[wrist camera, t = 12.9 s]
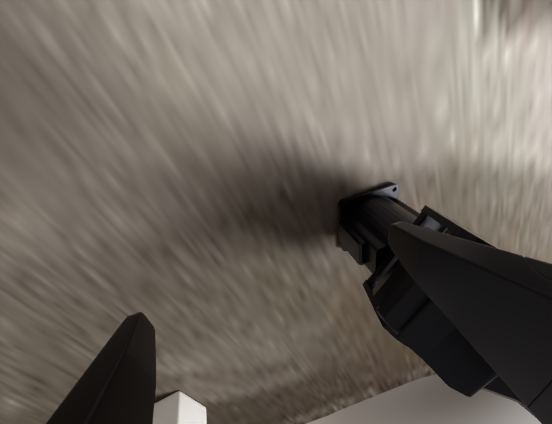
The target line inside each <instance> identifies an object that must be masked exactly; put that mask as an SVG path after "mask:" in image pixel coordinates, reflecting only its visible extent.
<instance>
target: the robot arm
mask: <svg viewBox="0 0 552 424" xmlns="http://www.w3.org/2000/svg"><path fill="white" fill-rule="evenodd" d="M393 188H394V189H393ZM392 189H393V190H392ZM398 192H399V186H398V185H396V184H394V183H392V184H389V185H386V186H383V187H380V188H377V189H374V190H370V191H367V192H364V193H361V194H358V195H355V196H352V197H349V198H346V199H343V200H341V201H340V202H339V204H338V208H339V221H338V236H339V241H340V243H341V248H342V250H343V251H348V252H349V253H350V255H351V256H352V257H353V258H354V259H355V261H356V262H357V263H358V264H359V265H364V264H365V266H366V267H367V268H368V269H369V270H370V271H371V273H372V275H371V276H370V277H369V278H368V280H365V282H364V283H363V286H364V289H365V291H366V293H367V295H368V297H369V299H370V301H371V304H372V306H373V308H374V310H375V312H376V314H377V316H378V318H379V320H380V322H381V324H382V326H383V327H384V329H386V330H387V331H388V332H389V333H390V334H391V335H392V336H393V337H394V338H396V339H397V340H398V341H399V342H401V343H402V344H404V345H406V346H408V347H409V348H410V349H412V350H413V351H414V352H415V353H416V354H417V355H418V356H420V357H421V358H422V359H423V360H424V361H425V362H426V363H427V364H428V365H429V366H430V367H431V368H432V369H433V370H434V371H435V372H436V374H437V375H438V376H439V377H440V378H441V379H442V380H443V381H444V382H445V383H446V384H447V385H448V386H449V387H451V388H453V389H455V390H457V391H458V392H460V393H462V394H464V395H466V396H469V397H472V396H473V395H475V394H476V393H477V392H478V391H480V390H481V389H483V390H486V391H489V392H491V393H494V394H497V395H500V396H502V397H505V398H508V399H511V400H513V401H516V402H518V403H519V404H520V405H521V406H523V407H524V408H525V409H527V410H528V411H529V412H530V413H531V414H532V415H534V416H535V417H536V418H537V419H538V420H539V421H540V422H541V423H542V424H552V264H550V263H547V262H543V261H539V260H536V259H532V258H529V257H523V256H522V255H518V254H515V253H511V252H508V251H504V250H502V249H500V248H498V247H497V246H495V245H494V244H492V243H491V242H489V241H487V240H486V239H484V238H483V237H481V236H479V235H478V234H476V233H474V232H472V231H471V230H469V229H467V228H466V227H464V226H462V225H460V224H459V223H457V222H455V221H453V220H452V219H450V218H448V217H446V216H444V215H442V214H441V213H439V212H437V211H435V210H433V209H431V208H429V207H428V206H426V205H425V206H424V208H423V209H422V210H421V211H422V212H421V213H418V212H417V211H415V210H413V209H412V208H410V207H409V206H407V205H406V204H404V203H403V202H401V201H399V200H398ZM343 204H345V205H344V206H343ZM155 390H156V348H155V329H154V327H153V325H152V324H151V323H150V321H149V320H148V319H147V317H146V316H145V315H144V314H143V313H142V312H138V313H135V314H133V315H130V316H128V317H126V319H125V320H124V321H123V322H122V324H121V325H120V326H119V328H118V329H117V330H116V332H115V333H114V334H113V336H112V337H111V338H110V340H109V341H108V342H107V344H106V345H105V346H104V347H103V349H102V350H101V351H100V353H99V354H98V355H97V357H96V358H95V359H94V361H93V362H92V363H91V365H90V366H89V367H88V369H87V370H86V371H85V373H84V374H83V375H82V377H81V378H80V379H79V381H78V382H77V383H76V384H75V386H74V387H73V388H72V390H71V391H70V392H69V394H68V395H67V396H66V398H65V399H64V400H63V402H62V403H61V404H60V406H59V407H58V408H57V410H56V411H55V412H54V414H53V415H52V416H51V417H50V419H49V420H48V421H47V423H46V424H153V413H154V402H155Z"/></svg>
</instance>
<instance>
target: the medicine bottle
mask: <svg viewBox="0 0 552 424" xmlns="http://www.w3.org/2000/svg"><path fill="white" fill-rule="evenodd" d="M153 424H207V422H206V407H204V406H203V405H201V404H200V403H198V402H196V401H195V400H193V399H192V398H190V397H188V396H187V395H185V394H184V393H182V392H181V391H178V392H176V393H174V394H172V395H170V396H168V397H166V398H164V399H162V400H160V401H158V402H156V403H154V413H153Z"/></svg>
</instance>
